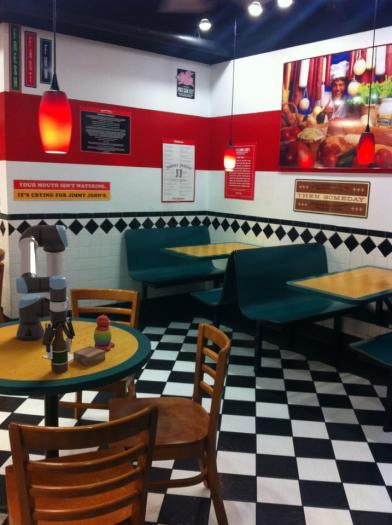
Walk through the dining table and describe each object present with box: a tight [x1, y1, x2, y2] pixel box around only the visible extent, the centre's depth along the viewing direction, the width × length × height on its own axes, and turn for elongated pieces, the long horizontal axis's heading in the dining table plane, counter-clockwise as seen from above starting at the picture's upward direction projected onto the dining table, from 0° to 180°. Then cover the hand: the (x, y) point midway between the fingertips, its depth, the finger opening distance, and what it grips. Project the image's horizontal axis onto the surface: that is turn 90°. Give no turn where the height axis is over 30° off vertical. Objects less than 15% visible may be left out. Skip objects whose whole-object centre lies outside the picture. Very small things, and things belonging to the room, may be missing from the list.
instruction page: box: [42, 353, 73, 363], centre depth 258 cm, size 15×10×1 cm, turn 66°
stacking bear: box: [93, 314, 116, 353], centre depth 271 cm, size 11×10×18 cm
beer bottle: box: [50, 322, 69, 375], centre depth 238 cm, size 8×8×24 cm
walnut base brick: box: [72, 345, 106, 367], centre depth 254 cm, size 11×11×5 cm
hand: (59, 354), depth 239 cm, fingers open, 10 cm apart
